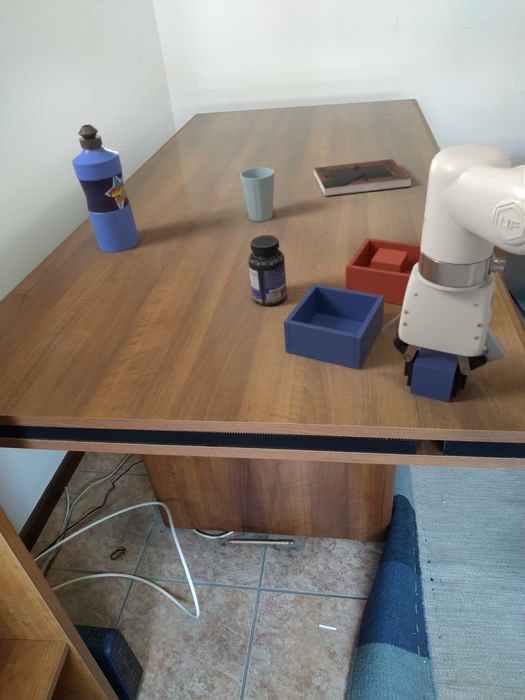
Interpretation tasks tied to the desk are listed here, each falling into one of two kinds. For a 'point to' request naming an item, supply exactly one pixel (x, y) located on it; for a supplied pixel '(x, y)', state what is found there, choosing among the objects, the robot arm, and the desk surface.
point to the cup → (259, 192)
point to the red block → (390, 260)
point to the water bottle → (105, 193)
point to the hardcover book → (361, 177)
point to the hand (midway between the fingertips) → (433, 383)
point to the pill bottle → (267, 271)
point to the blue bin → (334, 325)
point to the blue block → (434, 374)
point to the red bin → (380, 271)
